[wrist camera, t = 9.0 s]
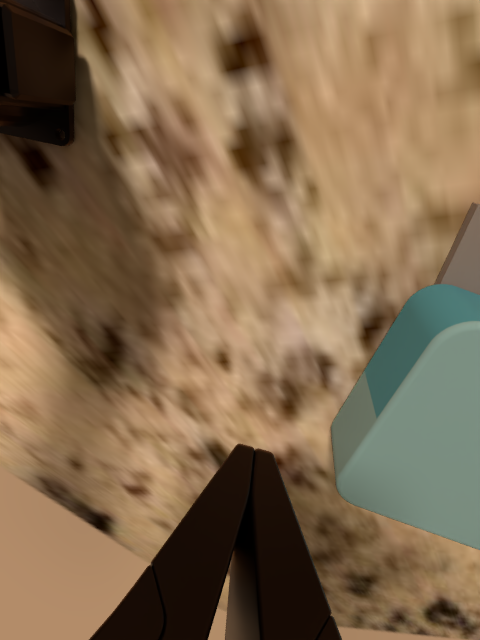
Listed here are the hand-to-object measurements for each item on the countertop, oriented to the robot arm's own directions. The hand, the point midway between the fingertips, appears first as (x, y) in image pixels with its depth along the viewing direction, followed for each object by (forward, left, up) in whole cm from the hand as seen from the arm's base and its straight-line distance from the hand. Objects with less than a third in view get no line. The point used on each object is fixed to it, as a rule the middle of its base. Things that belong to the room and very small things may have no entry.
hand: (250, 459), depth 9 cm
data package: (+6, -4, -10) cm, 12 cm away
